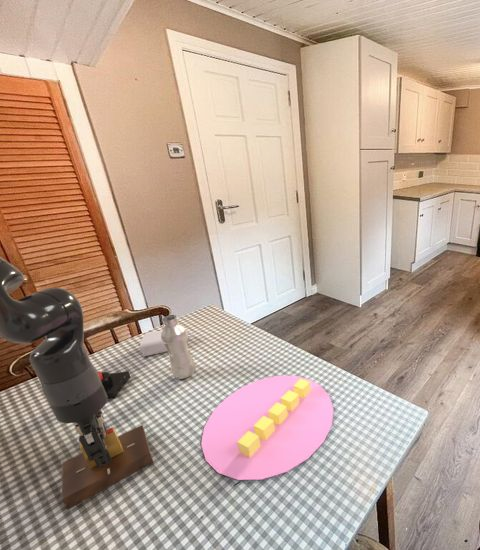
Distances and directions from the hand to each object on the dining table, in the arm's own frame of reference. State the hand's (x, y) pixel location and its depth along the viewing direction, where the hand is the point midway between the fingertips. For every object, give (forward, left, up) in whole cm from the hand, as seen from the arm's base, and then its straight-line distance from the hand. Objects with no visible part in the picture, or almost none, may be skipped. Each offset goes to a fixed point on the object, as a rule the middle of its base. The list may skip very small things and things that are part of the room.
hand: (103, 450), depth 64 cm
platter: (+33, +6, -5) cm, 34 cm away
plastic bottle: (+6, +29, -5) cm, 30 cm away
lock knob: (0, 0, -2) cm, 2 cm away
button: (-16, +27, -1) cm, 31 cm away
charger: (-4, +47, -5) cm, 48 cm away
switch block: (-16, +27, -5) cm, 32 cm away
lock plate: (0, 0, -5) cm, 5 cm away
